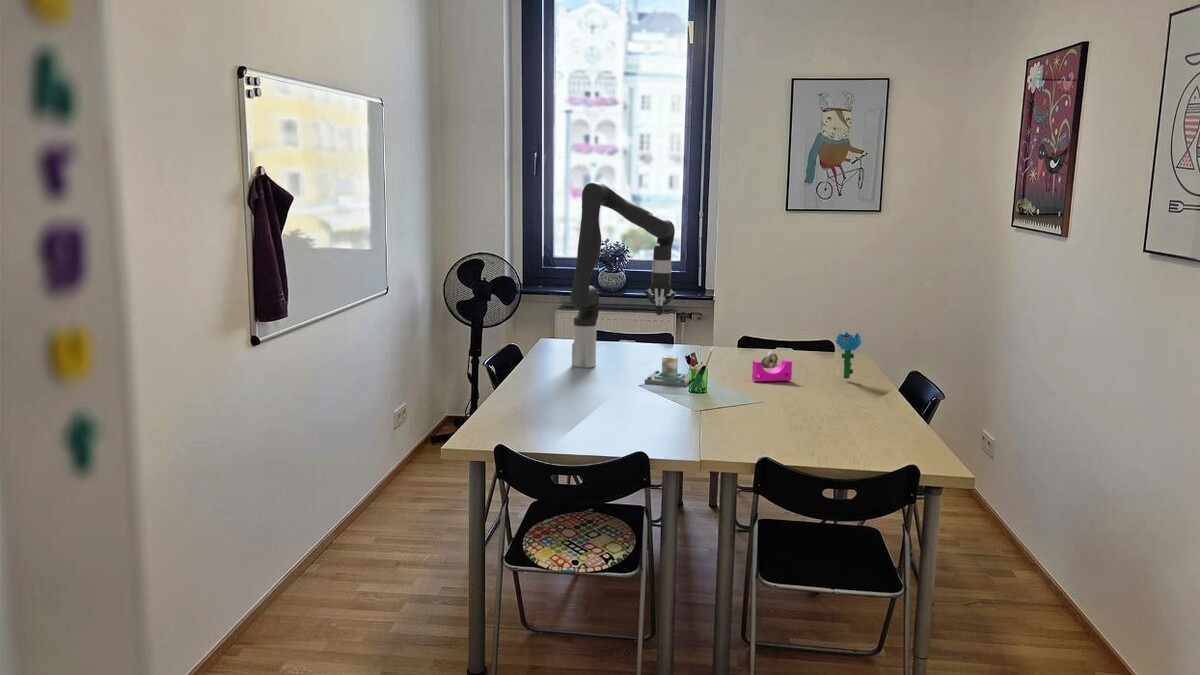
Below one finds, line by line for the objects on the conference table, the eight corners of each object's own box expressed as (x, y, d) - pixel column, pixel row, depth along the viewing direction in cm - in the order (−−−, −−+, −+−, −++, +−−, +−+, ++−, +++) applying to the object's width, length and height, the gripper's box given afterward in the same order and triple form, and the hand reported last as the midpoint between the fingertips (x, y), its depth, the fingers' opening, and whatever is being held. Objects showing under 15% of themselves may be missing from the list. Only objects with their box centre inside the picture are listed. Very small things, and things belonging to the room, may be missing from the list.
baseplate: (644, 383, 345) (644, 377, 344) (654, 375, 360) (654, 370, 360) (685, 386, 340) (685, 380, 340) (694, 378, 355) (694, 372, 355)
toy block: (784, 377, 362) (785, 358, 361) (791, 380, 356) (792, 361, 355) (749, 378, 359) (750, 359, 357) (755, 381, 353) (756, 362, 351)
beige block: (661, 377, 348) (662, 357, 347) (664, 375, 353) (665, 355, 352) (674, 378, 347) (674, 358, 345) (677, 376, 351) (677, 356, 350)
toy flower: (831, 378, 359) (833, 333, 357) (840, 374, 367) (842, 331, 364) (853, 381, 354) (855, 336, 351) (861, 377, 361) (864, 333, 358)
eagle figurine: (772, 371, 386) (767, 373, 378) (761, 359, 388) (755, 360, 380) (785, 359, 384) (780, 361, 376) (774, 347, 386) (768, 348, 378)
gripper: (642, 270, 352) (640, 314, 355) (675, 273, 348) (673, 317, 351) (647, 269, 359) (645, 312, 362) (680, 271, 355) (677, 315, 358)
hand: (659, 314), depth 357 cm, fingers closed
